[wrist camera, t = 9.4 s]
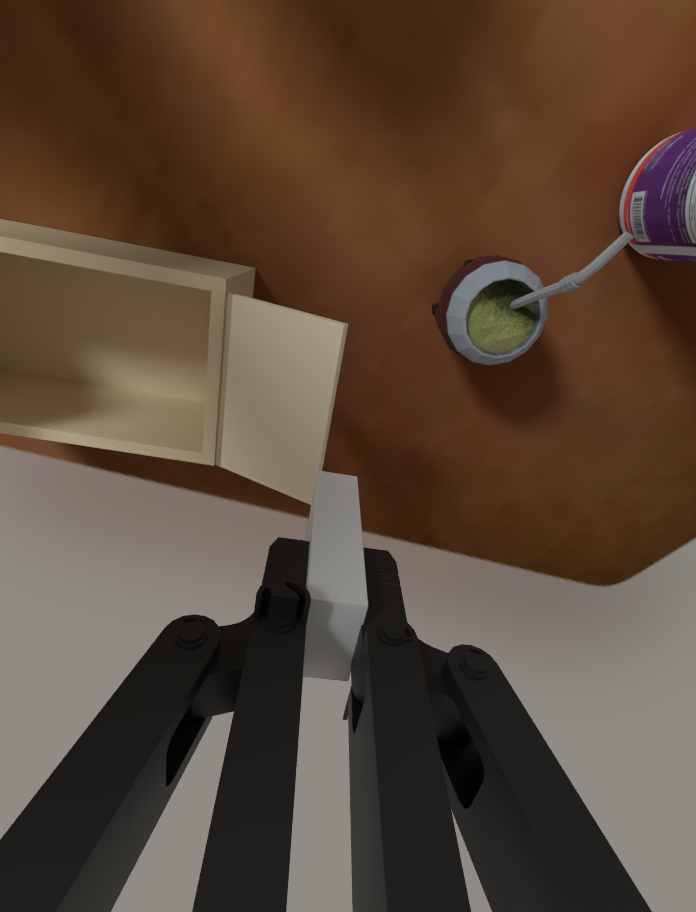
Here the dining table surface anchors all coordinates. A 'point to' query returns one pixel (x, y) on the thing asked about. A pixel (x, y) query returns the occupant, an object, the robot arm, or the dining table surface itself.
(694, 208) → the pill bottle
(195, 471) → the dining table surface
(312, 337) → the flap
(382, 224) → the dining table surface
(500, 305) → the mate gourd
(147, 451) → the carton
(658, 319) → the dining table surface
